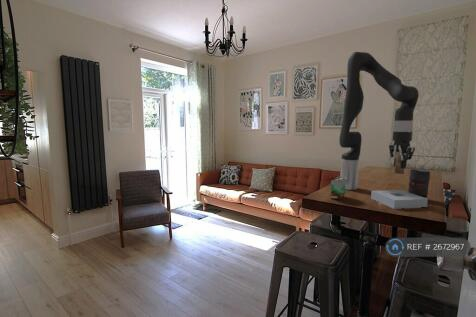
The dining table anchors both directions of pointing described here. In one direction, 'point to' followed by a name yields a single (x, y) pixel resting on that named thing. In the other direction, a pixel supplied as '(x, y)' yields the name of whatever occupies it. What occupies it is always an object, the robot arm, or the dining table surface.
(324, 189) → the dining table surface
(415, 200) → the socket board
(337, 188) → the food container
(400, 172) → the peg
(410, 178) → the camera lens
